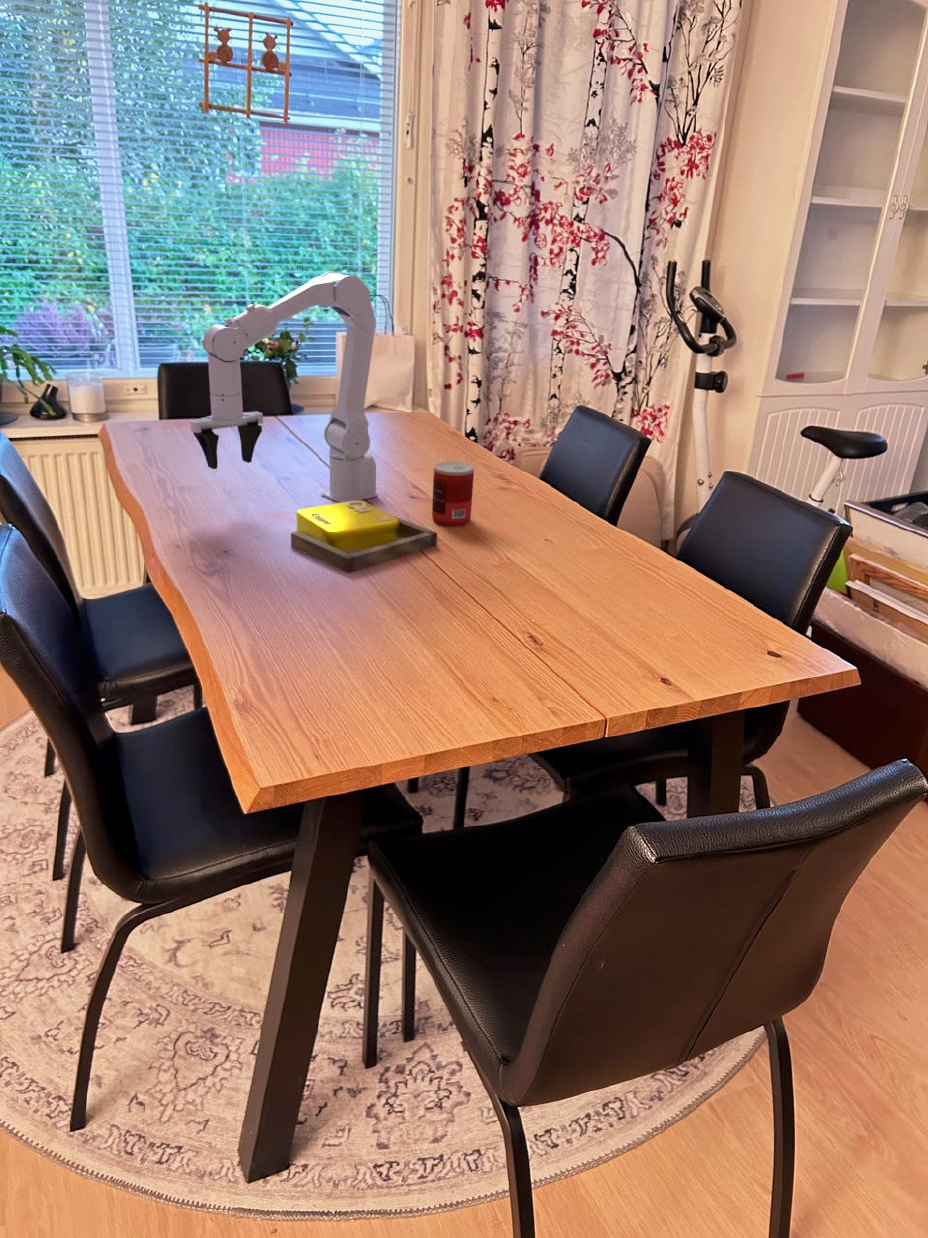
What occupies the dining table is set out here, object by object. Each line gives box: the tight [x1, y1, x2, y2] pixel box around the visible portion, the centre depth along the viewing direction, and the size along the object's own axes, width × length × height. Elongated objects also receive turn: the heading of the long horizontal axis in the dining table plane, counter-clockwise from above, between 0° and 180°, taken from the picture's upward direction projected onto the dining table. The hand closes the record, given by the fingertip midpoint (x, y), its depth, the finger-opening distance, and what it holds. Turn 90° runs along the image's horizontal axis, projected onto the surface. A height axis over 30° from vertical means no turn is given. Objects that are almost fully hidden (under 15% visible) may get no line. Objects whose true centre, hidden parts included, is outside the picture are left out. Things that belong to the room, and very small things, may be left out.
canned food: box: [431, 461, 475, 527], centre depth 176 cm, size 8×8×11 cm
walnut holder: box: [290, 514, 438, 573], centre depth 163 cm, size 21×16×2 cm
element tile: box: [296, 500, 400, 553], centre depth 167 cm, size 15×15×5 cm
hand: (230, 464), depth 172 cm, fingers open, 7 cm apart
